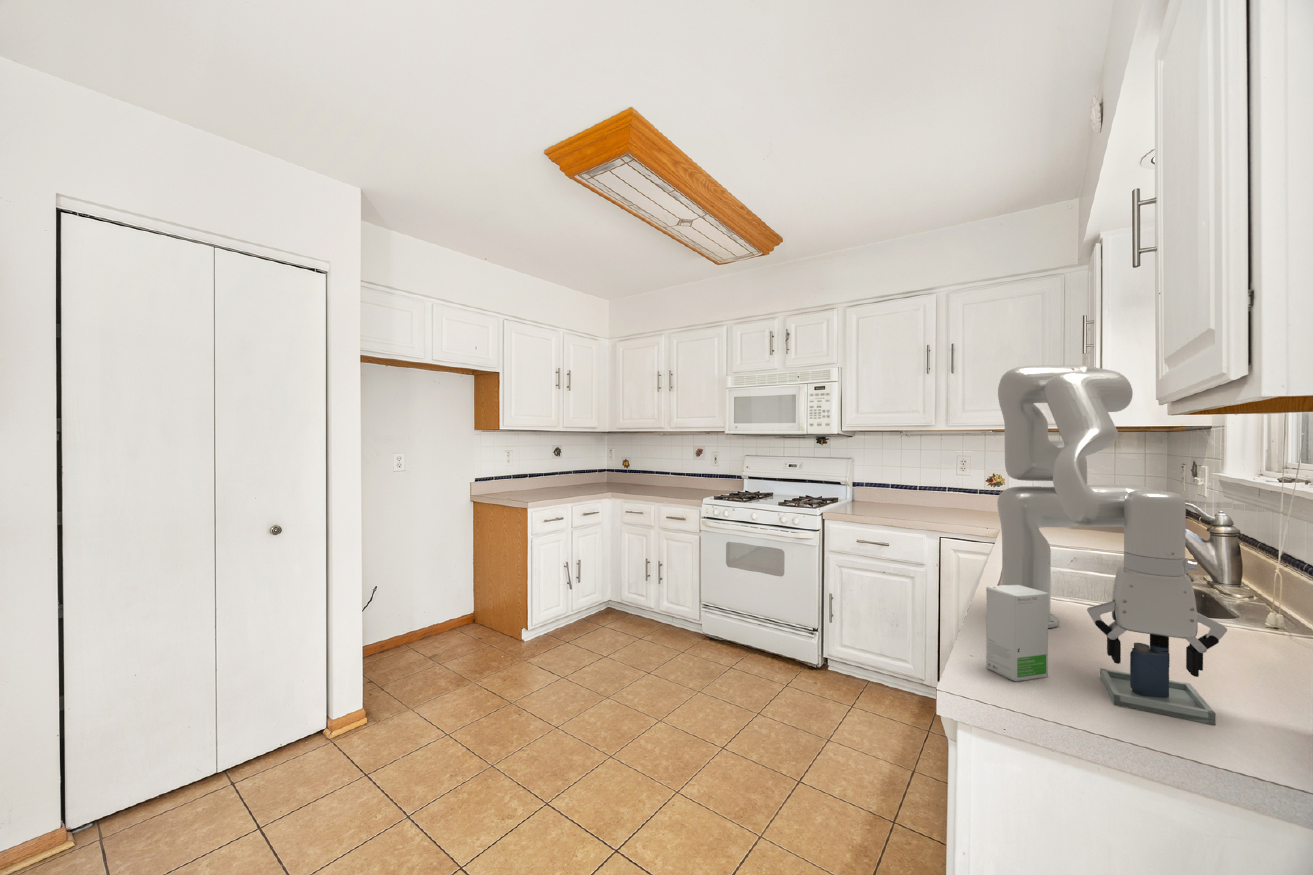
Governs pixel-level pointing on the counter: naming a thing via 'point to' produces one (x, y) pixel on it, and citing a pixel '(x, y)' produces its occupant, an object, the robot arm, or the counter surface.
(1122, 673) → the tray
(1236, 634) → the counter surface
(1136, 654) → the vaping device
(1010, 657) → the skincare box
